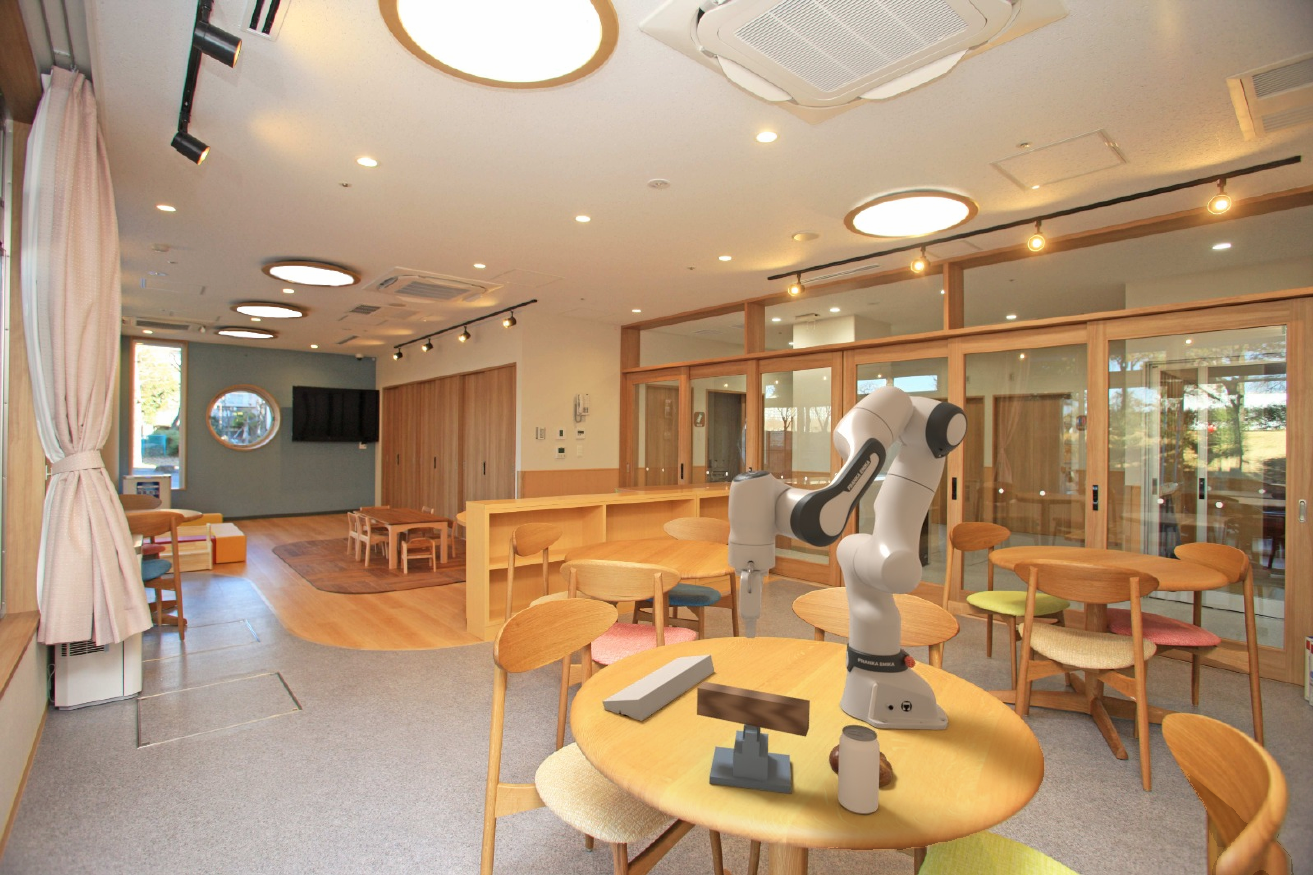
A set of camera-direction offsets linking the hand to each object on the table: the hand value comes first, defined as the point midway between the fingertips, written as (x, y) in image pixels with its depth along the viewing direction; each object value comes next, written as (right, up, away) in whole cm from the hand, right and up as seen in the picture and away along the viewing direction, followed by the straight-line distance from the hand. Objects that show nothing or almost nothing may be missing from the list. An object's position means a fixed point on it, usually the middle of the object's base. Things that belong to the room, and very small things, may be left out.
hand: (751, 629), depth 119 cm
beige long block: (-17, -25, +32) cm, 44 cm away
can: (+16, -25, -14) cm, 33 cm away
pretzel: (+20, -26, -3) cm, 33 cm away
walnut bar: (-1, -15, -5) cm, 16 cm away
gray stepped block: (-1, -25, -5) cm, 25 cm away
